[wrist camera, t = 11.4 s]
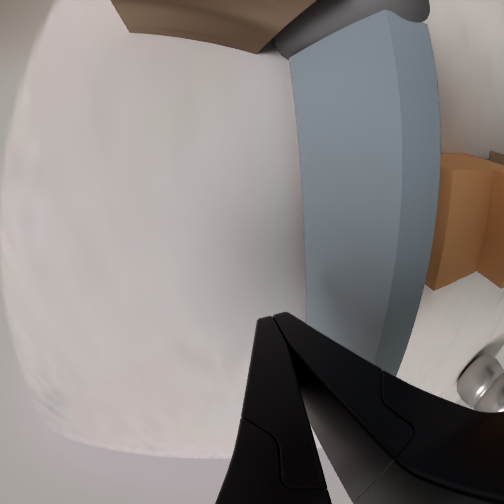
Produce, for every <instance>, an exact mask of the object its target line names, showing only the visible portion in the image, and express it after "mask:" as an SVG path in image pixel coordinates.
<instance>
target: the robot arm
mask: <svg viewBox="0 0 504 504" xmlns="http://www.w3.org/2000/svg"><path fill="white" fill-rule="evenodd" d="M310 425H311V426H312V428H313V430H314V432H315V434H316V436H317V438H318V440H319V442H320V444H321V445H322V447H323V449H324V451H325V453H326V455H327V457H328V459H329V460H330V462H331V464H332V466H333V468H334V470H335V472H336V473H337V475H338V477H339V479H340V481H341V483H342V484H343V486H344V488H345V490H346V492H347V493H348V495H349V497H350V499H351V500H352V502H353V504H504V411H501V412H481V411H476V410H472V409H469V408H467V407H464V406H461V405H459V404H455V403H453V402H451V401H448V400H445V399H443V398H440V397H438V396H435V395H433V394H430V393H428V392H426V391H423V390H421V389H419V388H417V387H415V386H412V385H410V384H408V383H407V382H405V381H403V380H401V379H399V378H397V377H395V376H393V375H392V374H390V373H388V372H386V371H385V370H383V371H382V369H381V368H379V367H378V366H376V365H374V364H372V363H371V362H369V361H367V360H366V359H364V358H362V357H361V356H359V355H357V354H355V353H354V352H352V351H350V350H349V349H347V348H345V347H344V346H342V345H340V344H339V343H337V342H335V341H334V340H332V339H330V338H329V337H327V336H326V335H324V334H322V333H321V332H319V331H317V330H316V329H314V328H312V327H311V326H309V325H308V324H306V323H304V322H303V321H301V320H300V319H298V318H296V317H295V316H293V315H292V314H290V313H288V312H283V313H279V314H275V315H273V317H272V316H267V317H264V318H260V319H258V320H257V324H256V330H255V337H254V343H253V349H252V355H251V361H250V367H249V373H248V379H247V385H246V391H245V397H244V402H243V408H242V414H241V419H240V424H239V430H238V435H237V439H236V444H235V448H234V452H233V455H232V458H231V462H230V465H229V468H228V471H227V474H226V477H225V479H224V482H223V485H222V487H221V490H220V492H219V495H218V498H217V500H216V503H215V504H332V503H331V499H330V496H329V492H328V490H327V485H326V481H325V477H324V474H323V470H322V466H321V462H320V459H319V455H318V451H317V448H316V444H315V441H314V437H313V433H312V430H311V426H310Z"/></svg>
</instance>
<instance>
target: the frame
mask: <svg viewBox="0 0 504 504" xmlns="http://www.w3.org/2000/svg"><path fill="white" fill-rule="evenodd" d="M315 1H316V0H111V2H112V4H113V5H114V7H115V9H116V10H117V12H118V14H119V15H120V17H121V19H122V20H123V22H124V24H125V25H126V27H127V29H128V30H129V32H131V33H145V34H156V35H165V36H173V37H180V38H187V39H193V40H198V41H204V42H209V43H214V44H219V45H223V46H227V47H232V48H236V49H240V50H243V51H247V52H251V53H254V54H257V53H258V52H259V51H260V50H261V49H262V48H263V47H264V46H265V45H266V44H267V43H268V42H269V41H270V40H271V39H272V38H273V37H274V36H275V35H277V34H278V33H279V32H280V31H281V30H282V29H283V28H284V27H285V26H286V25H288V24H289V23H290V22H291V21H292V20H293V19H294V18H296V17H297V16H298V15H299V14H300V13H301V12H303V11H304V10H305V9H306V8H308V7H309V6H310V5H311V4H312V3H314V2H315ZM489 161H492V162H495V163H498V164H501V165H504V155H503V154H499V153H496V152H492V151H491V153H490V157H489Z"/></svg>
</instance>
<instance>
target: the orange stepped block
mask: <svg viewBox="0 0 504 504" xmlns="http://www.w3.org/2000/svg"><path fill="white" fill-rule="evenodd" d="M475 271H477V272H479V273H480V274H482V275H483V276H485V277H486V278H487V279H489V280H490V281H492V282H493V283H494V284H496V285H497V286H498V287H500V288H503V287H504V165H501V164H498V163H495V162H492V161H489V160H485V159H482V158H478V157H475V156H471V155H468V154H452V153H440V178H439V193H438V204H437V213H436V222H435V229H434V236H433V242H432V248H431V254H430V260H429V265H428V270H427V275H426V279H425V284H426V285H427V286H428V287H430V288H431V289H432V290H433V291H434V290H437V289H439V288H441V287H443V286H446V285H448V284H450V283H452V282H454V281H457V280H459V279H461V278H463V277H465V276H467V275H469V274H471V273H473V272H475Z"/></svg>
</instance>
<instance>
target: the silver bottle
mask: <svg viewBox="0 0 504 504" xmlns="http://www.w3.org/2000/svg"><path fill="white" fill-rule="evenodd" d="M457 392H458V394H459V396H460V397H461V399H462V400H463V401H464V402H465V403H466V404H468V405H469V406H470V407H473V408H474V409H475V410H476V411H481V412H501V411H504V370H503V368H502V366H501V365H500V364H499V362H498V361H497V359H495V358H494V357H492V356H491V355H488V354H483V355H481V356H479V357H478V358H477V359H476V360H475V361H474V362H473V363H472V364H470V365H469V366H468V368H467V369H466V370H465V372H464V373H463V375H462V376H461V377H460V379H459V381H458V382H457Z"/></svg>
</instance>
